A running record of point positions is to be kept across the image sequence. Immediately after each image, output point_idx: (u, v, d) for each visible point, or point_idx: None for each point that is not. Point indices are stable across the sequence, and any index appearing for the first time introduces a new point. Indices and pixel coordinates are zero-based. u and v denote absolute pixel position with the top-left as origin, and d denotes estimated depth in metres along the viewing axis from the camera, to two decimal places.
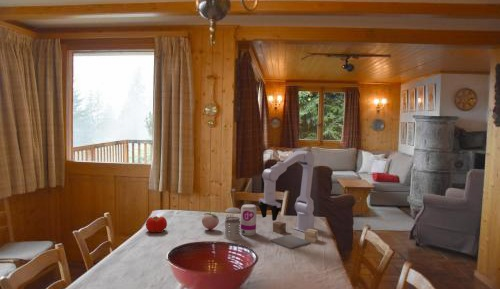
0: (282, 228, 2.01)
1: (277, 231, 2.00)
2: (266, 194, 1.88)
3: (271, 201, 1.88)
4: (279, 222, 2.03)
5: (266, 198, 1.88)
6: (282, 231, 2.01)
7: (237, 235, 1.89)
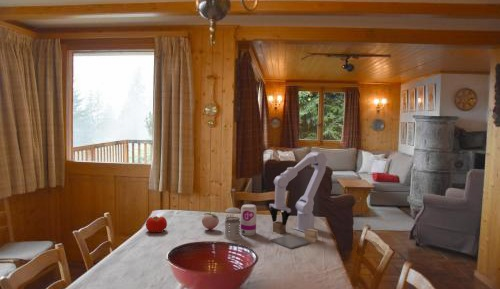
0: (282, 228, 2.01)
1: (277, 231, 2.00)
2: (277, 200, 2.00)
3: (281, 206, 1.99)
4: (279, 222, 2.03)
5: (277, 203, 2.00)
6: (282, 231, 2.01)
7: (237, 235, 1.89)
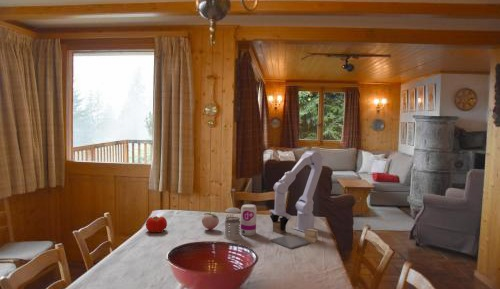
0: None
1: (277, 231, 2.00)
2: (276, 206, 2.00)
3: (281, 212, 1.99)
4: (279, 222, 2.03)
5: (276, 210, 2.00)
6: (282, 231, 2.01)
7: (237, 235, 1.89)
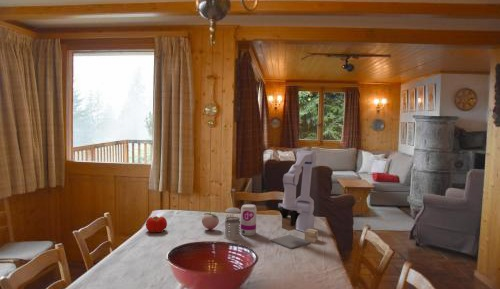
0: None
1: (287, 228, 1.84)
2: (286, 199, 1.84)
3: (291, 206, 1.84)
4: (289, 218, 1.87)
5: (286, 203, 1.84)
6: (292, 228, 1.85)
7: (237, 235, 1.89)
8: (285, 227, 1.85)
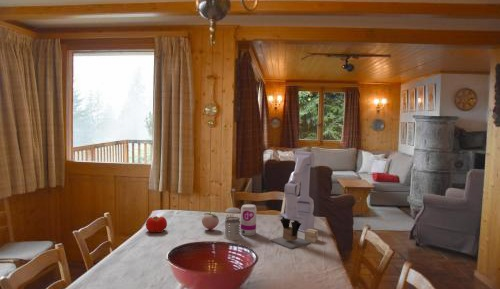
0: None
1: (288, 238, 1.83)
2: (288, 209, 1.82)
3: (293, 216, 1.82)
4: (290, 228, 1.86)
5: (288, 213, 1.82)
6: (294, 238, 1.83)
7: (237, 235, 1.89)
8: (286, 237, 1.84)
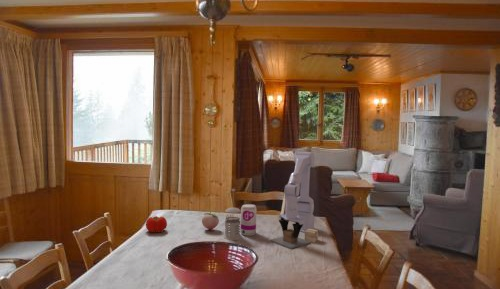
0: (293, 236, 1.83)
1: (288, 240, 1.83)
2: (288, 210, 1.82)
3: (293, 217, 1.82)
4: (290, 230, 1.86)
5: (288, 214, 1.82)
6: (294, 240, 1.83)
7: (237, 235, 1.89)
8: (286, 239, 1.84)
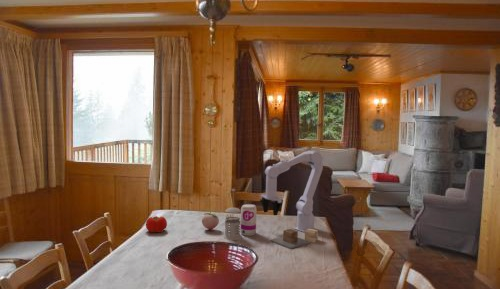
0: (293, 236, 1.83)
1: (288, 240, 1.83)
2: (268, 190, 1.99)
3: (272, 197, 1.99)
4: (290, 230, 1.86)
5: (268, 194, 1.99)
6: (294, 240, 1.83)
7: (237, 235, 1.89)
8: (286, 239, 1.84)
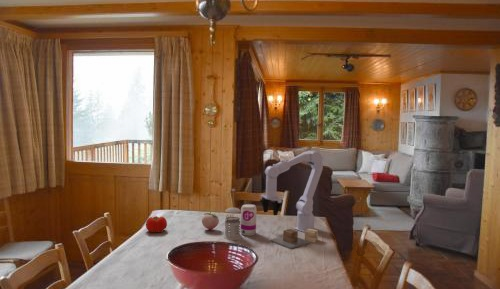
0: (293, 236, 1.83)
1: (288, 240, 1.83)
2: (268, 190, 1.99)
3: (272, 197, 1.99)
4: (290, 230, 1.86)
5: (268, 194, 1.99)
6: (294, 240, 1.83)
7: (237, 235, 1.89)
8: (286, 239, 1.84)
